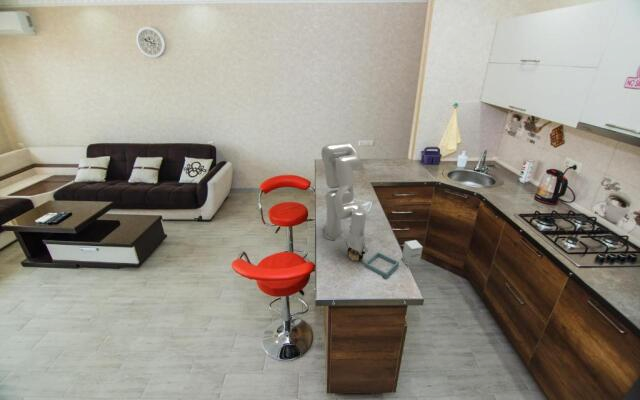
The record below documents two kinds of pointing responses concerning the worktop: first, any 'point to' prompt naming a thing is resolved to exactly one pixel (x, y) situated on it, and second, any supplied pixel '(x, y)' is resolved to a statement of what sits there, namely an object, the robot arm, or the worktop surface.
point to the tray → (380, 270)
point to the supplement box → (412, 253)
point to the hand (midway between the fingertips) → (354, 256)
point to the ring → (352, 256)
